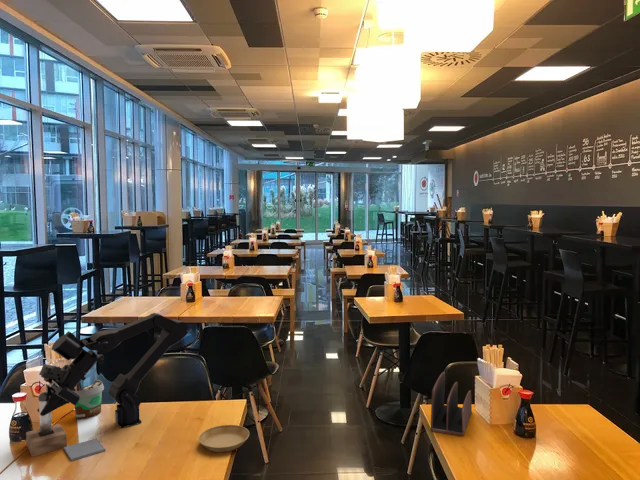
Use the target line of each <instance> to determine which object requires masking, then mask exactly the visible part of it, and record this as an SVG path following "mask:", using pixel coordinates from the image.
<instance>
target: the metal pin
mask: <svg viewBox="0 0 640 480" xmlns="http://www.w3.org/2000/svg"><path fill="white" fill-rule="evenodd" d="M50 398H51V396H50V394H49V393H48V392H46V391H43V392H40V394H39V395H38V397H37V399H38V408H39V412H38V413H39V429H40V437H42V436H46V435H50V434H52V426H53V424H52V412H50V413H48V414H46V415H44V416H41V415H40V413H41V411H42V409H43V408H44V407H45V405H46V404H47V402H48V401H49V399H50Z"/></svg>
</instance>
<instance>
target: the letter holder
mask: <svg viewBox="0 0 640 480" xmlns="http://www.w3.org/2000/svg"><path fill="white" fill-rule="evenodd" d="M445 388H446V371H442V372H441V373H440V375H439V376H438V378H437V379H436V381H435V383H434V386H433V388H432V390H431V408H430V410H431V413H430V431H431V432H435V433H443V434H446V435H447V434H448V435H454V436H459V437H464V435H465V433H466V429H467V427H468V423H469V421H470V419H471V415H472V411H473V410H472V390H470V389H469V390H468V392H467V393H466V395H465V398H464V400H463V403H462V407H460V406H459V400H458V398H459V397H458V396H459V383H458V381H455V382H454V383H453V385H452V386H451V389H450V391H449V393H448V396H447V400H446V401H445V393H446V392H445V390H446V389H445ZM445 403H446V404H445Z"/></svg>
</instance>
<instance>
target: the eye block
mask: <svg viewBox="0 0 640 480" xmlns="http://www.w3.org/2000/svg"><path fill="white" fill-rule="evenodd" d="M25 437H26V438H25V439H26V448H27V449H28V451H29V453H30V455H31V457H33V458H34V457H36V456H39V455H43V454H46V453H51V452H53V451H57V450H62V449H64V447H66V446H68V442H67V441H68V439H67V432H66V430H65V429H64V428H63V426H62V425H61V423H57V424H54V425H53V424H52V434H50V435H46V436H42V437H40V428H38V429H37V428H36V429H34V430H30V431H26V433H25Z"/></svg>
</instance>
